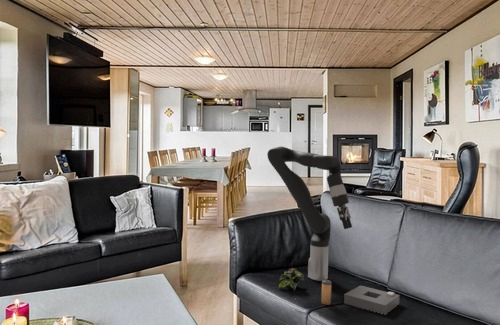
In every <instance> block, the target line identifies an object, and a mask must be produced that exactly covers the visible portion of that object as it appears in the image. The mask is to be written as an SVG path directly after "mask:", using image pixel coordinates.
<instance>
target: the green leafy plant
mask: <svg viewBox="0 0 500 325" xmlns="http://www.w3.org/2000/svg"><path fill="white" fill-rule="evenodd" d="M281 280H282V281H281ZM279 281H281V282H280V283H279V285H278V288H279V289H282V288H285V287H287V286H289V285H290V287H291V288H292V289H293V292H295V291H296V288H297V286H298V285H299V283H300V282H301V281H303V282H304V281H305V274H304V273H302V272H300V271H299V270H297V268H293V267H291V268H288V270H287V271H284V274H281V276H280V277H279Z"/></svg>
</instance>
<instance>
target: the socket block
mask: <svg viewBox="0 0 500 325" xmlns="http://www.w3.org/2000/svg"><path fill="white" fill-rule="evenodd" d="M343 297H344V301H343V304H344V305H349V306H352V307H355V308H358V309H361V310H365V309H366V310H365V311H369V310H370V311H369V312H372V311H373V312H372V313H376V312H377V313H376V314H379V313H380V315H383V314H384V315H383V316H386V315H387V314H389V313H390V312H391V311H392V310H393V309H395V308H396V307H397V305H398V306H399V305H400V294H397V293H395V292H393V291H385V290H382V289H381V290H380V289H376V288H372V287H368V286H364V285H359V286H357V287H355V288H353V289H351V290H349V291H347V292H346V293H344V294H343ZM388 312H389V313H388Z"/></svg>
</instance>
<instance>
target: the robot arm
mask: <svg viewBox="0 0 500 325" xmlns="http://www.w3.org/2000/svg"><path fill="white" fill-rule="evenodd" d="M267 159H268V160H267V161H269V163H270V164H271V166H272V167H273V169H274V170H275V171H276V173H277V175H279V176H280V179H281V180H282V182H283V183H284V184H285V186H286V187H287V189H288V191H289V193H290V195H291V197H292V198H293V199H294V201H295V203H296V204H297V206H298V207H299V209H300V210H301V212H302V214H303V215H304V218H305V220H306V222H307V224H308V227H309V228H310V230H312V236H311V239H310V253H309V258H308V260H307V261H308V265H307V278H309V279H311V280H314V281H319V282H322V280H329V279H328V275H329V274H328V272H329V244H330V243H329V242H330V239H331V226H332V224H331V223H332V222H331V220H330V216H328V215H327V214H326V213H320V212H319V211H318V208H316V206H315V204H314V202H313V199H312V195H311V192H310V189H309V187H308V186H307V184H306V183H305V181H304V180H303V179H302V177H300V176H299V175H298V174H297V173H296V172H294V171H293V170H292V169H291V168H289V167H288V165H287V164H286V163H287V162H288V163H289V162H290V163H293V162H294V163H297V164H299V165H301V166H304V167H308V168H314V169H315V168H317V169H319V170H322V171H323V170H324V171H328V174H329V175H328V176H326V181H327V184H328V188H329V194H330V197H331V200H332V205H333V207H336V210H337V213H338V217H339V221H341V223H342V227H343V229H344V230H347V229H351V228H353V225H352V222H351V218H352V217H351V214H350V210H349V208H348V206H346V205H347V204H349V203H350V200H349V197H348V194H347V190H346V187H345V185H344V183H343V182H344V181H343V178H342V170H341V169H342V168H341V167H342V166H341V163H340V160H339V158H338V157H336V156H335V155H325V154H324V155H321V154H318V153H312V152H304V151H298V150H294V149H292V148H288V147H285V146H276V147H272V148H270V149H269V150H268V151H267Z"/></svg>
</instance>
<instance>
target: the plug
mask: <svg viewBox="0 0 500 325" xmlns="http://www.w3.org/2000/svg"><path fill="white" fill-rule="evenodd" d="M320 299H321V304H322V305H325V306H329V305H331V304H332V303H331V302H332V281H331V280H329V279H327V280H322V281H321V298H320Z"/></svg>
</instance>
